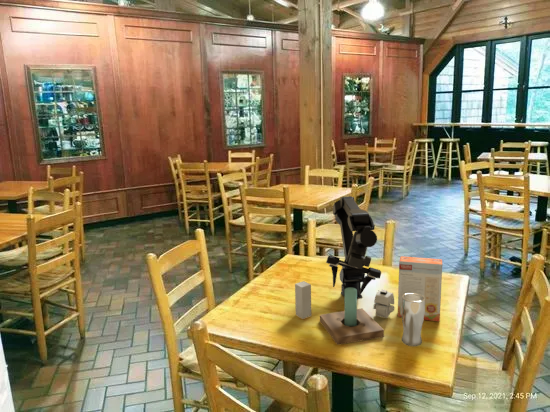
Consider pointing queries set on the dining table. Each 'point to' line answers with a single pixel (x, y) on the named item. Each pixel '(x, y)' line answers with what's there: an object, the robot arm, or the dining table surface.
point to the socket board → (351, 334)
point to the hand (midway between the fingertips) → (346, 291)
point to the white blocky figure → (384, 303)
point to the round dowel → (350, 307)
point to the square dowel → (303, 299)
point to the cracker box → (421, 283)
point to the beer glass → (412, 318)
